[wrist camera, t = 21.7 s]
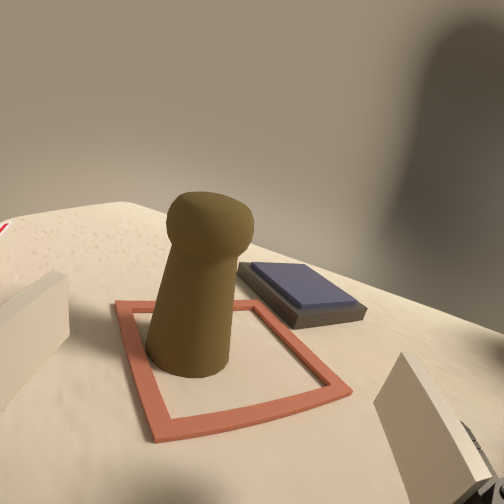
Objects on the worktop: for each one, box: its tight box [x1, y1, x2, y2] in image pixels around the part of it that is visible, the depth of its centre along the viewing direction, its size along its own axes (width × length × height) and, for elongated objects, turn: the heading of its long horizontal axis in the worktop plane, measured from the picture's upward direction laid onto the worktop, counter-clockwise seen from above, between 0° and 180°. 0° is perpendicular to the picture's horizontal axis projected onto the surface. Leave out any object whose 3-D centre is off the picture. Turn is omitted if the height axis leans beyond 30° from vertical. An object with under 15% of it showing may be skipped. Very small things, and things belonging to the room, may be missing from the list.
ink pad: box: [237, 262, 367, 329], centre depth 35 cm, size 12×10×2 cm
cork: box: [145, 192, 254, 378], centre depth 20 cm, size 6×6×11 cm
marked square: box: [115, 300, 353, 443], centre depth 22 cm, size 14×14×1 cm
